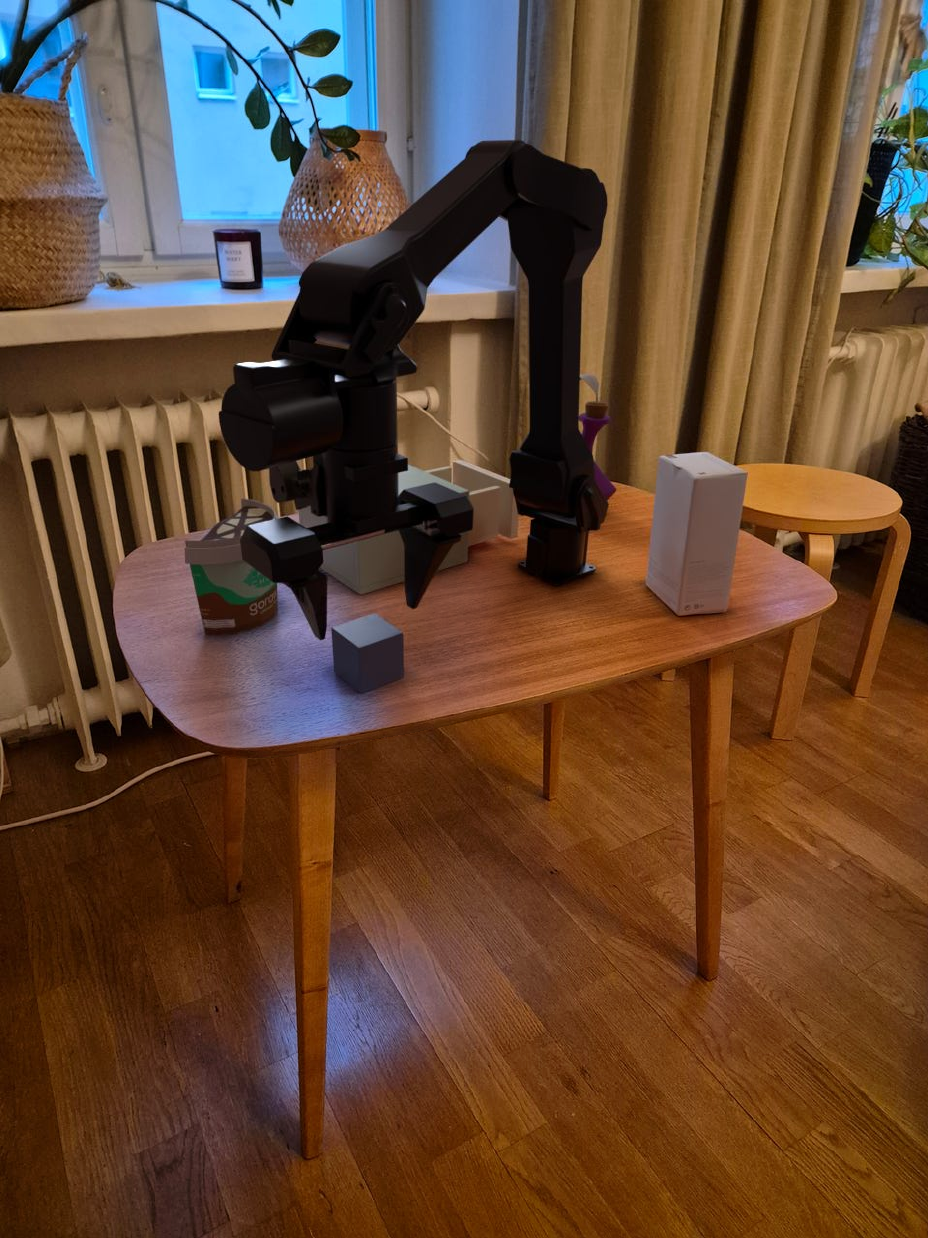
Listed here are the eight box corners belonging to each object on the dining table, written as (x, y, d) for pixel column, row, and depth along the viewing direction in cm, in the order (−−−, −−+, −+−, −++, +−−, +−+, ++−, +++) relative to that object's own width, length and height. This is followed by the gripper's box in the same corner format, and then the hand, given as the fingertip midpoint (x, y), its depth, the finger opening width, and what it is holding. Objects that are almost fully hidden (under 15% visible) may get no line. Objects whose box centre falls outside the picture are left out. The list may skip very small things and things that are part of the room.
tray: (484, 503, 107) (486, 453, 103) (543, 529, 99) (547, 476, 96) (372, 532, 97) (370, 478, 93) (428, 564, 89) (428, 506, 86)
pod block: (376, 656, 73) (374, 612, 71) (404, 677, 70) (403, 632, 68) (333, 671, 70) (330, 627, 68) (360, 694, 67) (358, 648, 65)
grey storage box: (405, 528, 100) (404, 462, 96) (467, 561, 92) (469, 490, 88) (301, 556, 92) (296, 484, 88) (360, 595, 84) (356, 518, 80)
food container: (258, 649, 73) (247, 549, 69) (197, 641, 74) (181, 542, 70) (308, 592, 84) (301, 502, 79) (253, 585, 85) (243, 496, 80)
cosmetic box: (727, 613, 82) (755, 473, 75) (673, 618, 81) (697, 476, 74) (689, 578, 89) (712, 448, 82) (639, 583, 88) (657, 451, 81)
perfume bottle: (614, 512, 107) (631, 375, 99) (581, 526, 102) (596, 384, 94) (570, 498, 112) (582, 366, 103) (536, 511, 107) (546, 374, 98)
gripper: (400, 403, 71) (403, 563, 78) (198, 435, 60) (223, 616, 68) (480, 431, 63) (475, 605, 71) (265, 473, 53) (285, 672, 60)
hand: (367, 622), depth 68 cm, fingers open, 9 cm apart
